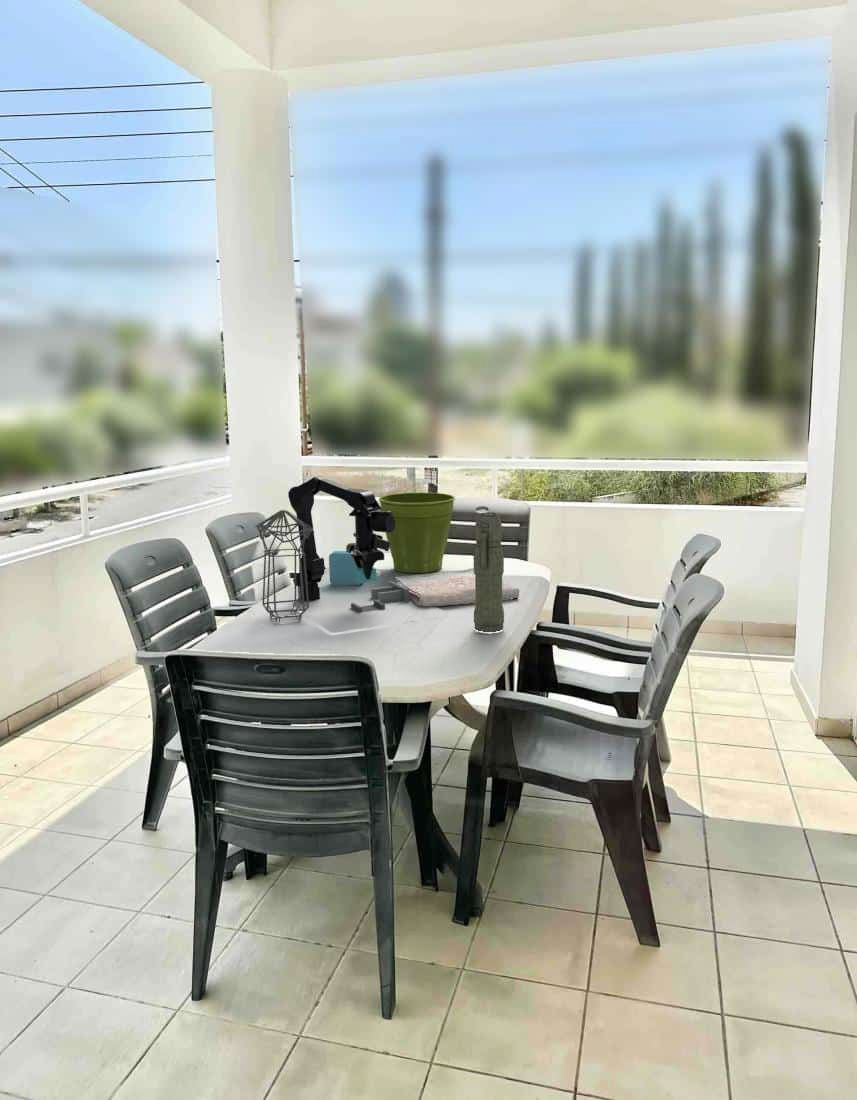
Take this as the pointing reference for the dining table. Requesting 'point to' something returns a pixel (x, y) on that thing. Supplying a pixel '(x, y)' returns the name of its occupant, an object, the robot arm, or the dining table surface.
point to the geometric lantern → (263, 529)
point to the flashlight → (488, 573)
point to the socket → (391, 593)
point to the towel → (447, 588)
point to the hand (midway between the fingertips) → (365, 577)
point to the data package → (342, 568)
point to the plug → (361, 576)
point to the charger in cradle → (368, 607)
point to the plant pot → (418, 529)
